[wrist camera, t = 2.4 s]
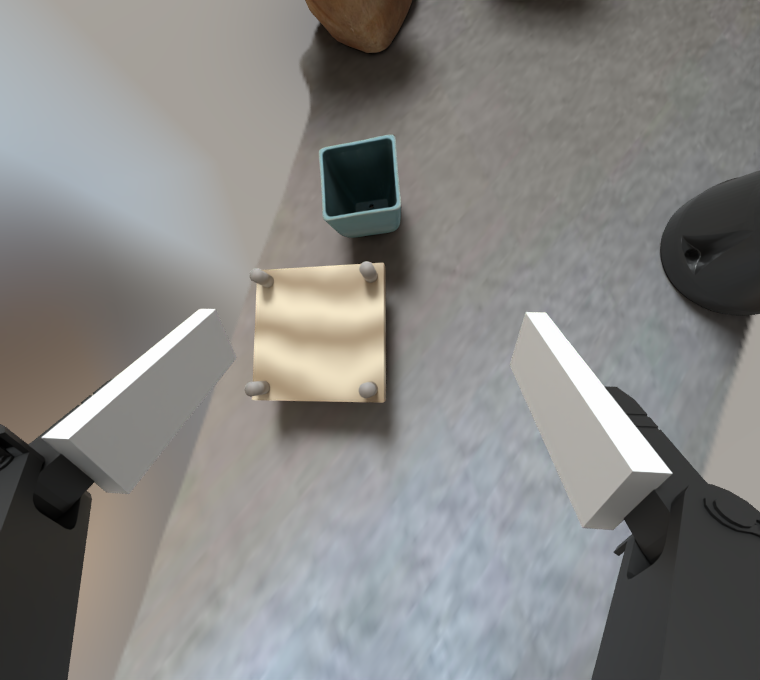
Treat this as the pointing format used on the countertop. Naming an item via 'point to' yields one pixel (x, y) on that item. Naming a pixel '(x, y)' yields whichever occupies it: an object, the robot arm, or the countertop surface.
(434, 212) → the countertop surface
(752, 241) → the robot arm
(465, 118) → the countertop surface
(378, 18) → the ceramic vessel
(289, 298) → the plant stand
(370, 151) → the flower pot
